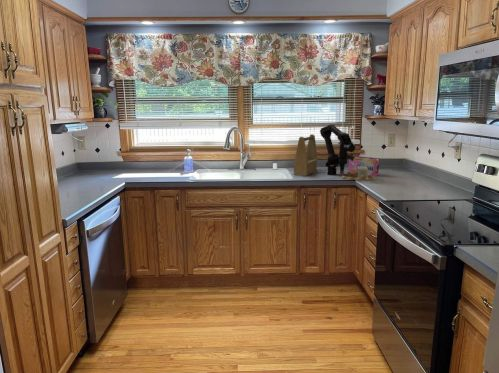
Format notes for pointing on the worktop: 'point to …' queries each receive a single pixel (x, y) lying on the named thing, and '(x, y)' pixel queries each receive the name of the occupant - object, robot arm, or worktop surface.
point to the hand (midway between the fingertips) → (341, 171)
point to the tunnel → (362, 171)
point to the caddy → (305, 157)
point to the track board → (361, 177)
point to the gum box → (365, 164)
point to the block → (352, 171)
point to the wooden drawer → (348, 173)
